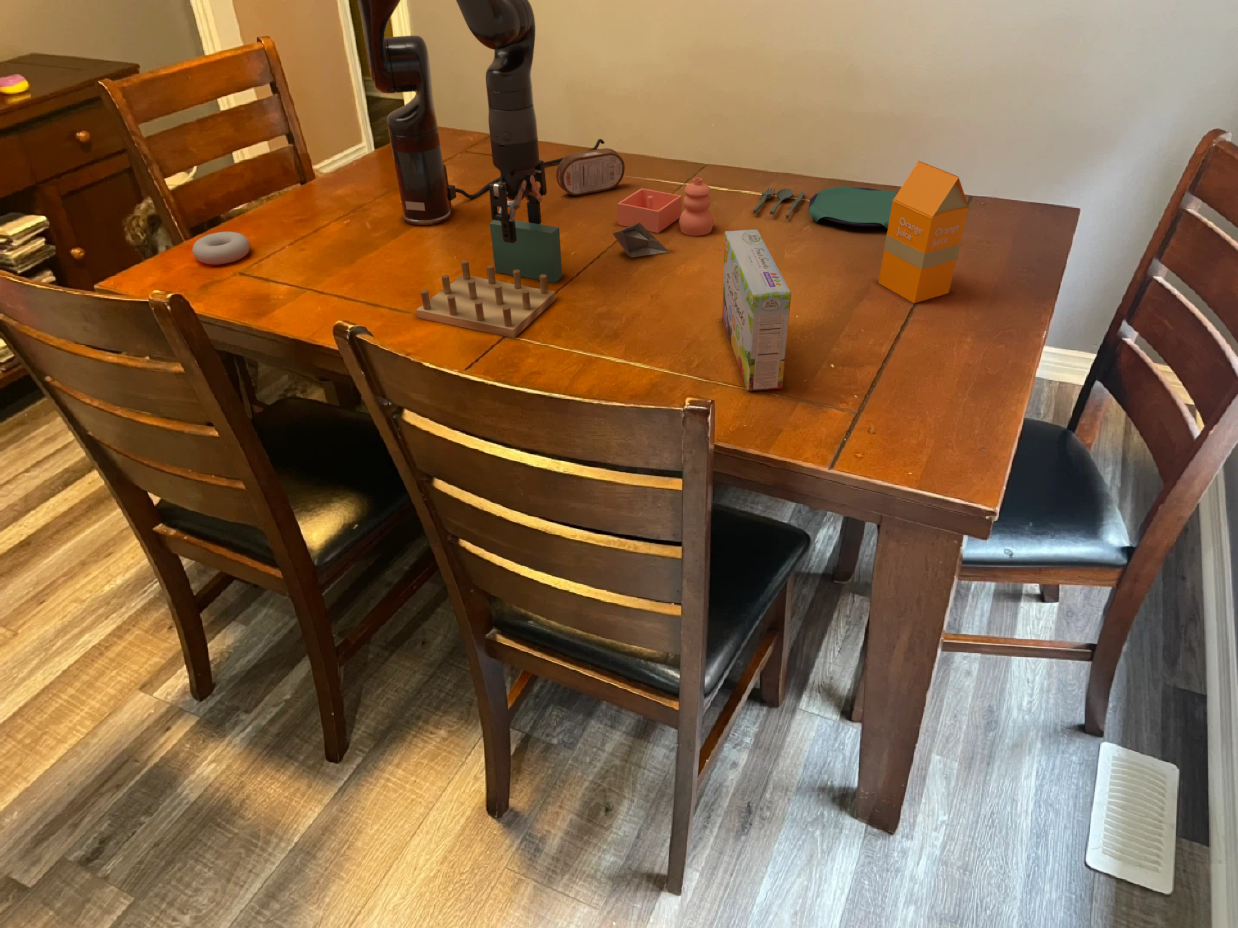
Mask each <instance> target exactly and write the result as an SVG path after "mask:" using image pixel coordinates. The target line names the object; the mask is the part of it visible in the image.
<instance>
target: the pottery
mask: <svg viewBox="0 0 1238 928" xmlns="http://www.w3.org/2000/svg"><path fill="white" fill-rule="evenodd" d="M684 193H685V196H684V197H683V195H679V194H675V193H669V192H664V191H660V190H659V191H658V190H655V189H649V188H643V187H641V188H640V189H638V190H636V191H635V192H633V193H632V194H630V195H628V196H627V197H626V198H624V199H622V200H620V201H619V202H617V204H616V205H617V206H616V207H617V209H616V210H617V225H618V226H623V227H627V228H628V227H630V226H632V225H635V224H637V223H641V224H642V225H643V226H644V227H645V228H646V229H647V230H648V231H649V232H650V233H657V234H659V233H661V232H662V231H663V230H665V229H666V228H667V227H669V226H670V225H672V224H673V223H674V222H676V221H677V220H678V222H679V228H680V231H681V233H683V234H684V235H687V236H694V237H697V236H698V237H699V236H700V237H701V236H705V235H706V236H707V235H708V234H710V233H711V232H712V230H713V226H714V216H713V214H712V212H711V210H709V208H710V207H711V203H712V200H711V197H710V193H711V187H710V186H709V185H708V184H707V183H704V182H703V178H702V177H694V178H693V182H691V183H688V184H687V185H686V186H685V187H684ZM682 203H683V204H682ZM682 205H683V206H684V208H685V209H684V210H683V211H682Z"/></svg>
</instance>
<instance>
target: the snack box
mask: <svg viewBox="0 0 1238 928" xmlns="http://www.w3.org/2000/svg"><path fill="white" fill-rule="evenodd" d="M760 233H761V232H760V231H759V230H758V229H756V228H755V229H741V230H740V229H739V230H725V232H724V242H723V243H724V244H723V245H724V246H723V247H724V248H723V275H722V276H723V278H722V279H723V280H722V282H723V284H722V314H721V318H722V319H721V321H722V323H723V326H724V329H725V332H726V335H727V338H728V340H729V343H730V345H731V348H732V351H733V354H734V357H735V360H736V363H737V365H738V366H737V367H738V368H739V372H740V374H741V377H742V379H743V383H744V385H745V388H746V391H747V392H755V391H769V390H778V389H779V390H781V389H783V385H784V383H783V382H784V374H785V373H784V371H785V362H786V361H785V360H786V352H787V340H788V329H789V321H790V320H789V319H790V311H791V302H792V301H791V300H792V291H791V290H790V288H789V286H788V284H787V282H786V281H785V279H784V276H783V275H782V273H781V271H780V270H779V268H778V266H777V264H776V262H775V260H774V258H773V256H772V254H771V253H770V250H769V249H768V247H767V244H766V243H765V241H764V239H763V237H762V235H761V234H760Z"/></svg>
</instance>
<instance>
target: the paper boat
mask: <svg viewBox="0 0 1238 928" xmlns="http://www.w3.org/2000/svg"><path fill="white" fill-rule="evenodd" d="M612 235H613V236H614V238H615V240H616V241H617V242H618V243H619V245H620V246H621V248H622V249H623V251H624V252H625V254H626V255H627V256H628V257H629V258H639V257H645V256H651V255H658V254H665V253H670V251H669V250H668V249H667V248H666V247H665V246H664V245H663V244H662V242H660V241H659V240H658V239H657V238H656V237H655V236H654V235H653V234H652V232H651V231H648V230H647V229H646V228H645V227H644V226H643V225H642V224H641V223H637V224H635V225H632V226H630V227H628V226H627V227H625V228H622V229H620V230H618V231H615V232H612Z"/></svg>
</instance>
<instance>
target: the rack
mask: <svg viewBox="0 0 1238 928" xmlns="http://www.w3.org/2000/svg"><path fill="white" fill-rule="evenodd" d="M460 264H461V273H462V275H460V276H459V277H457V278H456V279H455V280H453V281H452V282H451V281H450V276H449V274H443V275H441V282H442V290H440V291H439V292H438V293H436V294H435V295H434V296H432V297H431V298H430V293H429V290H428V289H422V290H421V291H420V296H421V302H422V304H421V305H420V306H419V307H418V308H416V309H415V311H416V317H417V318H418V319H421V320H427V321H431V322H436V323H439V324H444V325H445V324H446V325H450V326H456V327H460V328H465V329H469V330H475V331H479V332H483V333H489V334H492V335H493V334H494V335H499V336H504V337H508V338H512V339H513V338H514V339H515V338H516V337H518V335H519V334H521V333H522V332H523V331H524V330H525V329H526V328H528V326H529V325H530V324H531V323H533V322H534V321H535V319H537V318H538V317H539V316H540V315H541V314H542V313H543V312H544V311H545V310H547V308H549V306H551V304H553V303H555V301H556V291H554V290H549V288H548V287H549V286H548V285H549V284H548V282H547V275H544V274H542V275H540V276H539V277H540V280H539V288H536V287H533V286H532V287H531V286H527V285H526V286H525V285H522V277H521V276H520V270H513V275H512V278H513V279H512V280H513V283H510V282H504V281H500V280H496V274H495V273H496V272H495V265H494V264H489V265H487V266H486V273H487V278H484V277H478V276H472V275H471V272H470V265H469V261H468V260H465V259H464V260H461V262H460Z"/></svg>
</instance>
